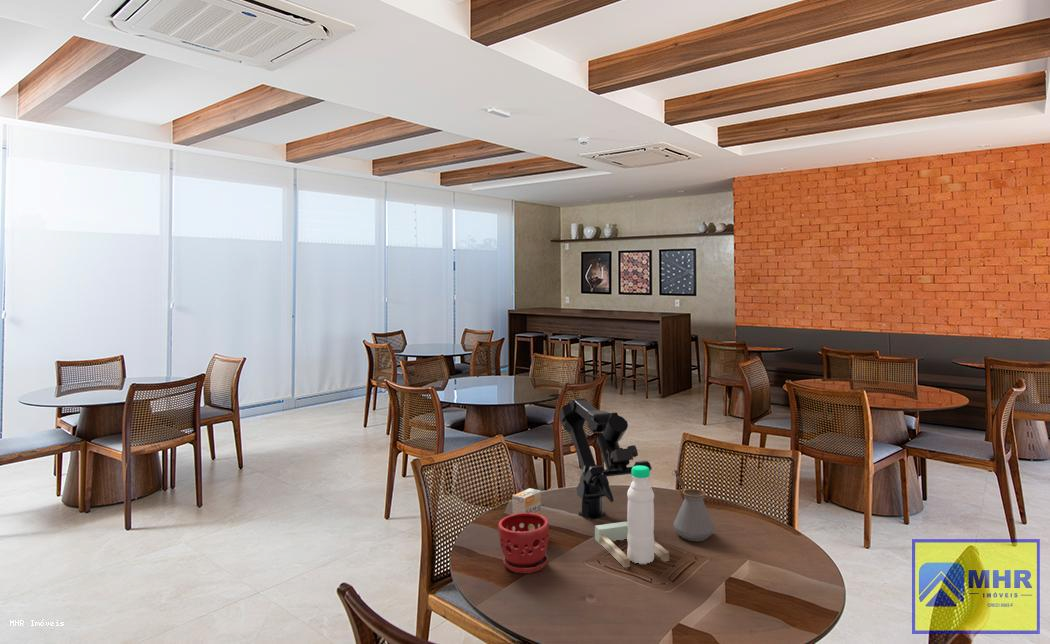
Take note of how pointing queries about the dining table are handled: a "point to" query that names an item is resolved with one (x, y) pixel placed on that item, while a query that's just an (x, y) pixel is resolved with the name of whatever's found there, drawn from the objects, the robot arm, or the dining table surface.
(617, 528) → the block
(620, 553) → the rails
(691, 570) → the dining table surface
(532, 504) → the supplement box
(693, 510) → the coffee pot
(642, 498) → the water bottle
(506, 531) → the plant pot
